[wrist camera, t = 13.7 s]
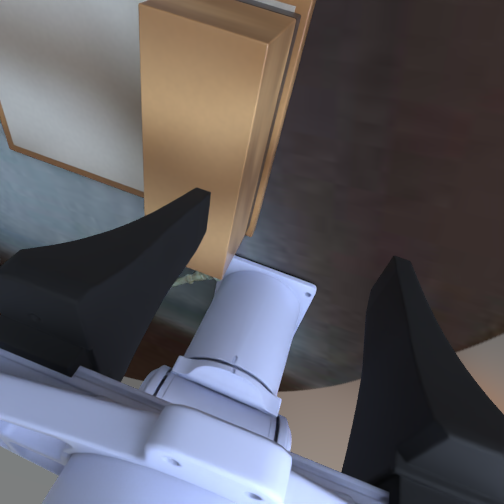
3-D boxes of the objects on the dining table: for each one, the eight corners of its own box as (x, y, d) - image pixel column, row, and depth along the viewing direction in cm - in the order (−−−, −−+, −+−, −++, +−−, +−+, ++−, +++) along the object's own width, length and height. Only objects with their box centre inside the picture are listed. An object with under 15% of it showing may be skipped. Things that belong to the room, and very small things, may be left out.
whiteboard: (254, 230, 27) (250, 238, 26) (18, 144, 29) (8, 150, 28) (319, -11, 16) (315, -8, 16) (-63, -125, 18) (-82, -126, 17)
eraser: (249, 226, 26) (221, 280, 22) (184, 202, 26) (145, 252, 22) (301, 14, 16) (269, 44, 13) (199, -17, 17) (137, 2, 13)
